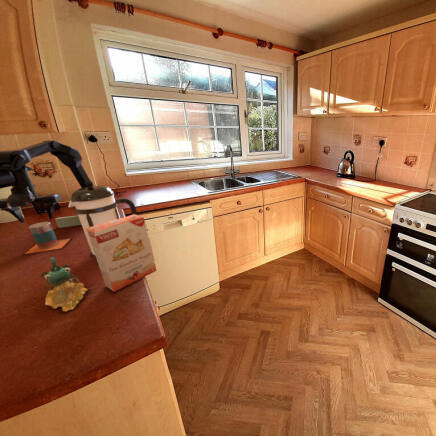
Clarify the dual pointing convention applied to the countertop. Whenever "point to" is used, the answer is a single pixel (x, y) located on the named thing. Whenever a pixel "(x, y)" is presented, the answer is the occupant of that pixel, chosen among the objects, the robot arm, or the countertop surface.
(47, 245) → the can
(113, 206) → the coffee press
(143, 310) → the countertop surface
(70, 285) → the frog figurine
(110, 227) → the cracker box
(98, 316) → the countertop surface
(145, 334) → the countertop surface
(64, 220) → the block
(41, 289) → the countertop surface
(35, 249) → the cloth
